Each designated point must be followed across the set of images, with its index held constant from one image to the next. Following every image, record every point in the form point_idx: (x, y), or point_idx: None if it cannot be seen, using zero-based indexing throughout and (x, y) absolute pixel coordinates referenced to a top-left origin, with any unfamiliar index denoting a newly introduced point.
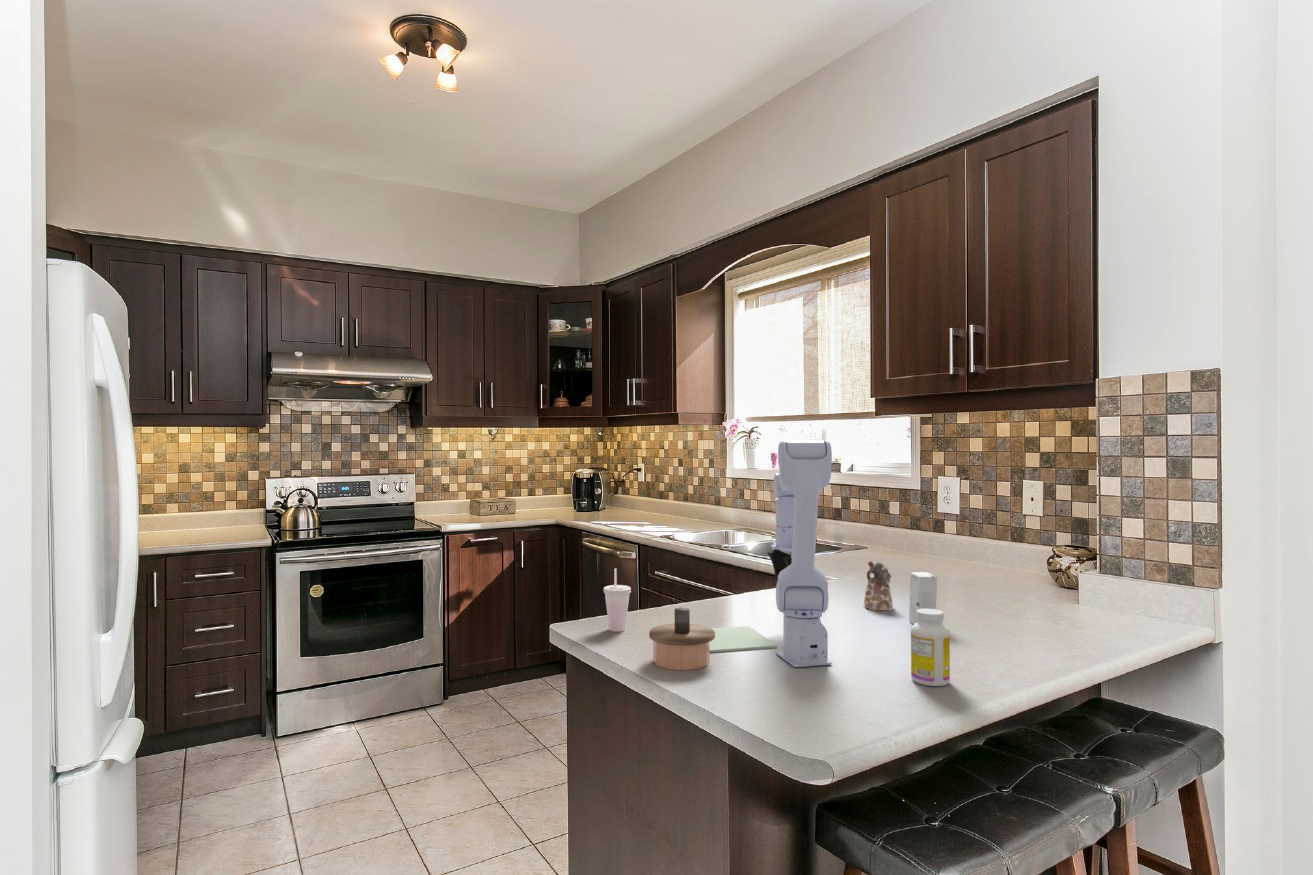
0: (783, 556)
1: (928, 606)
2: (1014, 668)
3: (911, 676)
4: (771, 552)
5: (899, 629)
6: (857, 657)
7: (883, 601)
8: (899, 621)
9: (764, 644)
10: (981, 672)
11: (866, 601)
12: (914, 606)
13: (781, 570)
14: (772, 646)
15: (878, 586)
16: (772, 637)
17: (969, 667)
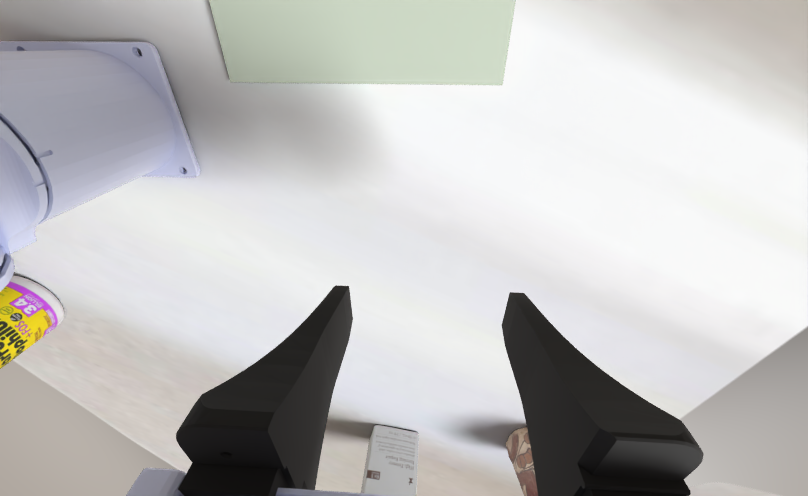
0: (553, 463)
1: (364, 478)
2: (148, 414)
3: (16, 279)
4: (643, 455)
5: (374, 401)
6: (166, 255)
7: (512, 457)
8: (427, 423)
9: (241, 38)
10: (115, 378)
11: None
12: (389, 467)
13: (525, 359)
14: (227, 64)
15: (530, 491)
16: (361, 123)
17: (139, 378)
